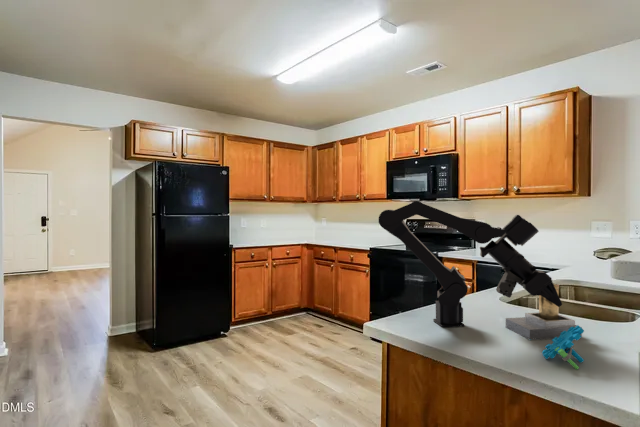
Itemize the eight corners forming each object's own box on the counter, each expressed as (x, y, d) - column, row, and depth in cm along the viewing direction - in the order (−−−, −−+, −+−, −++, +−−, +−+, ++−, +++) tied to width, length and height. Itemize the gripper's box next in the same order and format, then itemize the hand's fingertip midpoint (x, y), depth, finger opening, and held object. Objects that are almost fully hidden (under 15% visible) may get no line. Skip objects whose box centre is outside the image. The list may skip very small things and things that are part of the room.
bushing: (549, 335, 96) (549, 286, 96) (534, 330, 101) (534, 283, 101) (563, 333, 98) (563, 285, 98) (547, 328, 102) (547, 282, 102)
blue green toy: (542, 340, 88) (579, 316, 83) (564, 362, 86) (603, 338, 81) (535, 362, 79) (575, 337, 74) (559, 386, 77) (602, 362, 72)
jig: (529, 339, 93) (529, 323, 93) (505, 327, 103) (505, 312, 103) (581, 337, 95) (581, 321, 95) (553, 325, 105) (553, 310, 105)
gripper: (481, 272, 113) (523, 312, 109) (490, 284, 95) (539, 332, 92) (511, 247, 110) (554, 286, 107) (525, 253, 92) (577, 301, 89)
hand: (555, 301), depth 99 cm, fingers open, 9 cm apart
